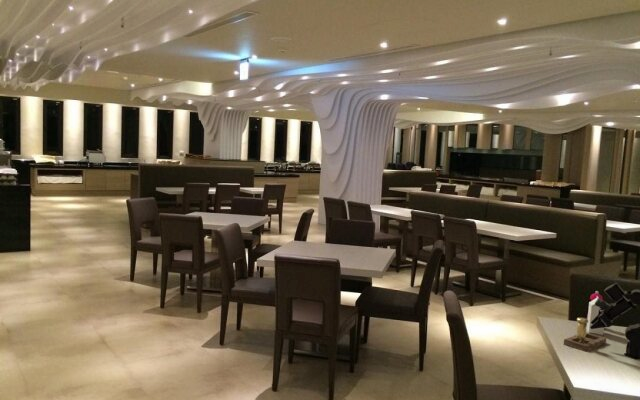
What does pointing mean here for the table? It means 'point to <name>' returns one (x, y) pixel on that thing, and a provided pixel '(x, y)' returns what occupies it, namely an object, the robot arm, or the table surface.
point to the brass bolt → (581, 330)
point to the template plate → (590, 342)
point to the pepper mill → (595, 297)
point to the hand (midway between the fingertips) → (590, 325)
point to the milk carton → (592, 314)
